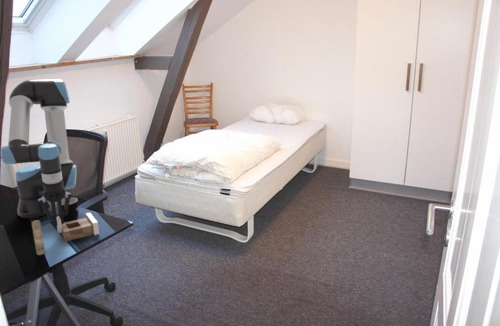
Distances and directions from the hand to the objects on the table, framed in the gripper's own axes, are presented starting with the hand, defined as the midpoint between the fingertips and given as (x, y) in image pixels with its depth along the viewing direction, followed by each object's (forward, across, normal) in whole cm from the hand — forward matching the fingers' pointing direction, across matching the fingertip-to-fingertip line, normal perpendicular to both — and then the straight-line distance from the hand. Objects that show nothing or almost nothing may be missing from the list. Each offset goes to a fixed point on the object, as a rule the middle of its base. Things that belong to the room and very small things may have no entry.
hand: (60, 231), depth 171 cm
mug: (+4, +8, +16) cm, 18 cm away
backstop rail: (+3, +14, -1) cm, 14 cm away
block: (+3, +6, -1) cm, 7 cm away
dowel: (+3, -10, -10) cm, 14 cm away
